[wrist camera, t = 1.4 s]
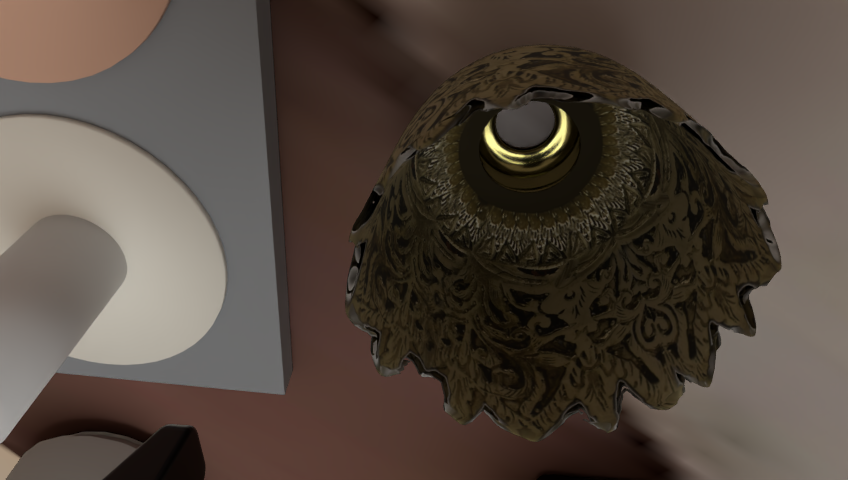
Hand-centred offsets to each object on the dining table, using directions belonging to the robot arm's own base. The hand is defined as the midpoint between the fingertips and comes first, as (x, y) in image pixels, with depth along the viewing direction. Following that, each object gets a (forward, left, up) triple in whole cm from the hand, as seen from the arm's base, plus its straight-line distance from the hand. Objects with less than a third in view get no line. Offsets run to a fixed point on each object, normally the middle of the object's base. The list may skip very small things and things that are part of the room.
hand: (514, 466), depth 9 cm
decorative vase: (-1, 0, -11) cm, 11 cm away
